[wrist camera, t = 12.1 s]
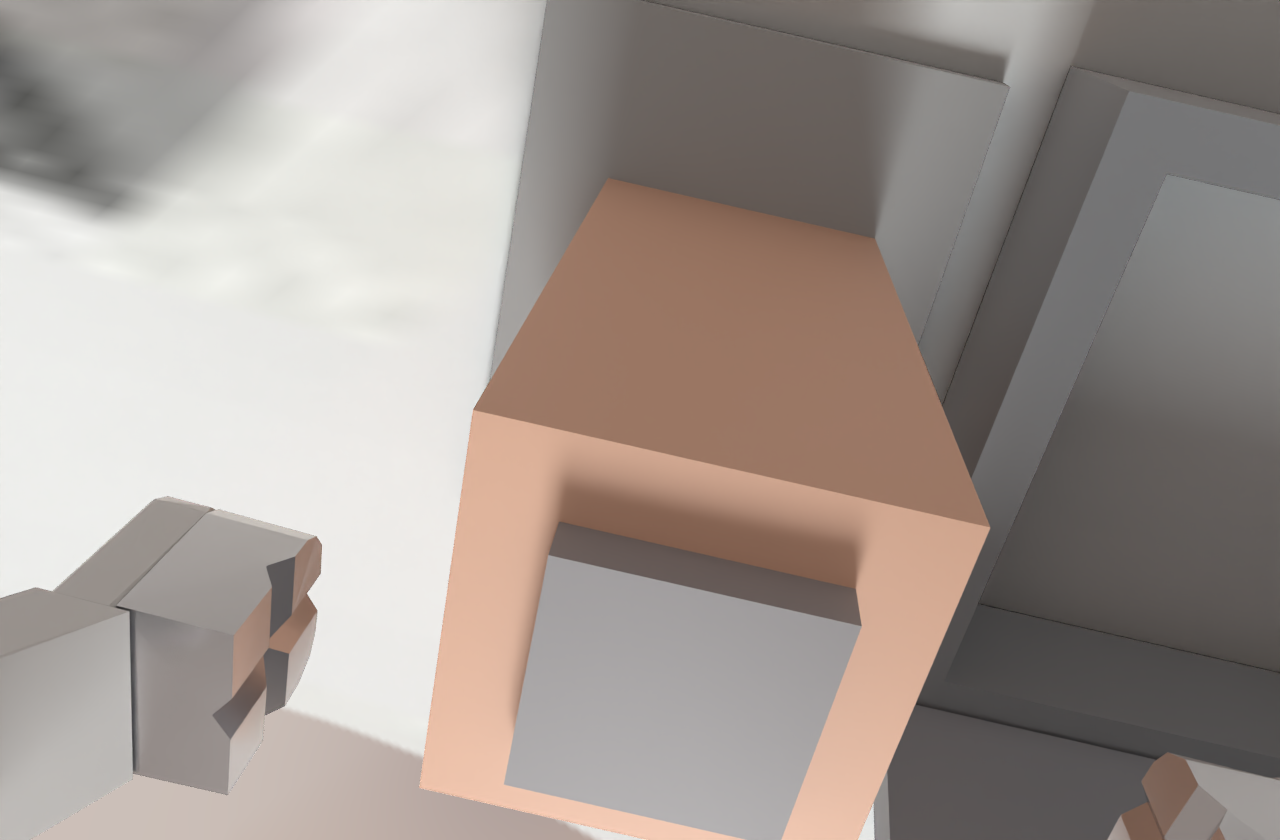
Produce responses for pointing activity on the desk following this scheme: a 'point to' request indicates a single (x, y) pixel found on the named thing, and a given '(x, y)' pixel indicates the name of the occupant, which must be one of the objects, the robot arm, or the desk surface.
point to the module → (700, 535)
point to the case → (1001, 474)
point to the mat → (744, 138)
